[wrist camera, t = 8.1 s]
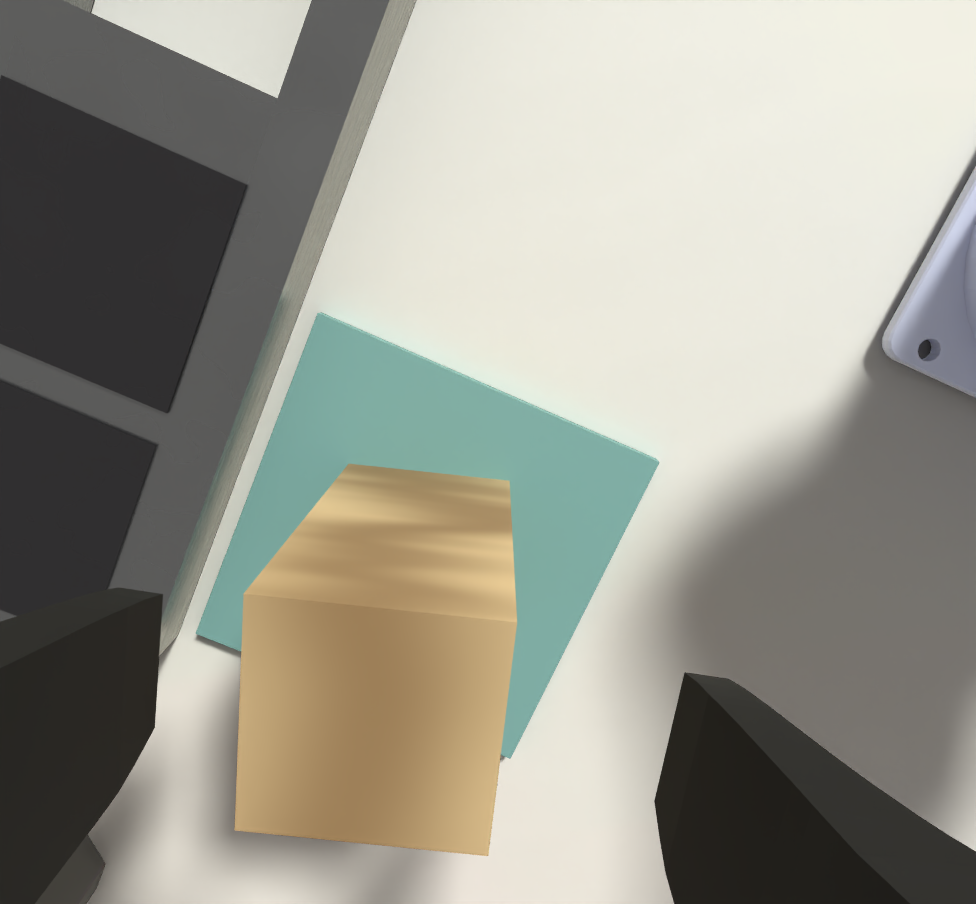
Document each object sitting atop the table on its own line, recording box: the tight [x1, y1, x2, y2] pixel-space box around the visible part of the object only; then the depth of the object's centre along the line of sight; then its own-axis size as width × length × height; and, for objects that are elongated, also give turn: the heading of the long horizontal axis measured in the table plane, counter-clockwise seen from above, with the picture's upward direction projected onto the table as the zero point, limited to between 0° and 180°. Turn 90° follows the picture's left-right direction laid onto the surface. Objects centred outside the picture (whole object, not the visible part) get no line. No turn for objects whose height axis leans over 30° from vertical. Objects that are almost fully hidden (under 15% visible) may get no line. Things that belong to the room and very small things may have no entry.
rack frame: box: [0, 0, 416, 656], centre depth 17 cm, size 8×24×2 cm, turn 156°
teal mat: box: [196, 313, 659, 758], centre depth 20 cm, size 9×9×1 cm
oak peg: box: [235, 464, 517, 856], centre depth 15 cm, size 4×4×8 cm
